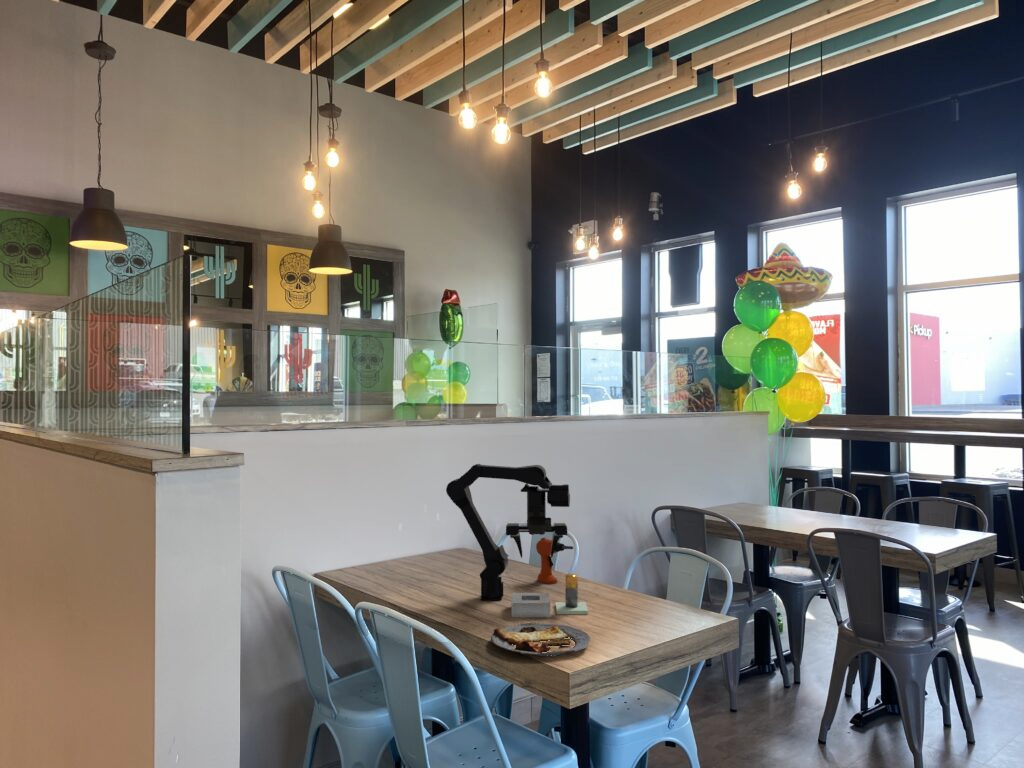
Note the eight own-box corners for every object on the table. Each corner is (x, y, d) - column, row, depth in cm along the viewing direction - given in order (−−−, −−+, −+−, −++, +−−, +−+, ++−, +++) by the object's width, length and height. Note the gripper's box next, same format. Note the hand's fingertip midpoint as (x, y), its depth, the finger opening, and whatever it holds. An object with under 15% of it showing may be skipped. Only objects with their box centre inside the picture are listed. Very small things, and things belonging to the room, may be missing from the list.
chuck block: (511, 617, 219) (511, 603, 219) (512, 606, 230) (511, 593, 230) (550, 617, 219) (550, 603, 219) (548, 606, 230) (548, 592, 230)
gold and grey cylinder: (565, 607, 225) (565, 576, 225) (564, 604, 228) (564, 573, 229) (578, 607, 225) (578, 576, 225) (577, 604, 228) (577, 573, 229)
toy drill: (570, 587, 247) (566, 539, 249) (534, 582, 262) (531, 538, 264) (581, 584, 250) (577, 537, 251) (545, 580, 265) (542, 536, 267)
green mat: (556, 614, 222) (556, 610, 222) (555, 605, 231) (555, 602, 231) (588, 614, 222) (588, 610, 222) (585, 605, 231) (585, 602, 231)
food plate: (504, 664, 181) (505, 649, 181) (480, 635, 203) (480, 622, 203) (603, 656, 188) (603, 642, 188) (569, 629, 210) (570, 616, 210)
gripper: (505, 510, 230) (505, 563, 230) (568, 510, 230) (568, 563, 230) (506, 505, 241) (506, 555, 241) (566, 504, 241) (566, 555, 241)
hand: (536, 557), depth 238 cm, fingers open, 9 cm apart
